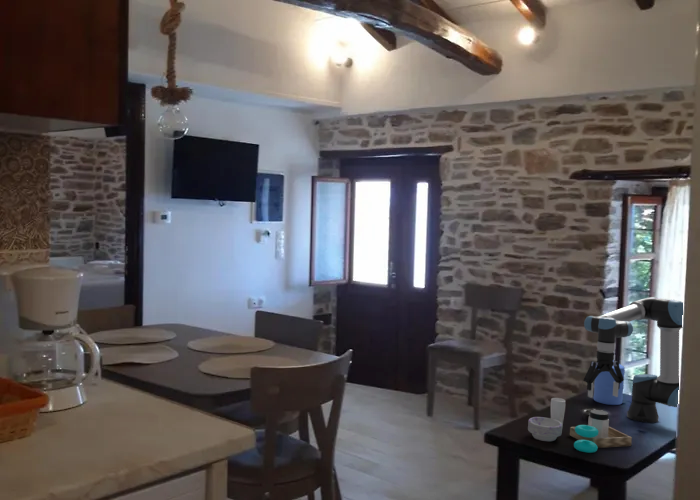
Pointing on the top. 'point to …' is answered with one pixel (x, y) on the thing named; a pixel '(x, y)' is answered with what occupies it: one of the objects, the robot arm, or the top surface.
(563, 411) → the light grey cylinder
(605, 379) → the water jug
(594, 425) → the jar
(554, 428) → the light grey speckled bowl
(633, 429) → the top surface
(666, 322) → the robot arm
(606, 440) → the crate
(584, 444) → the donuts
